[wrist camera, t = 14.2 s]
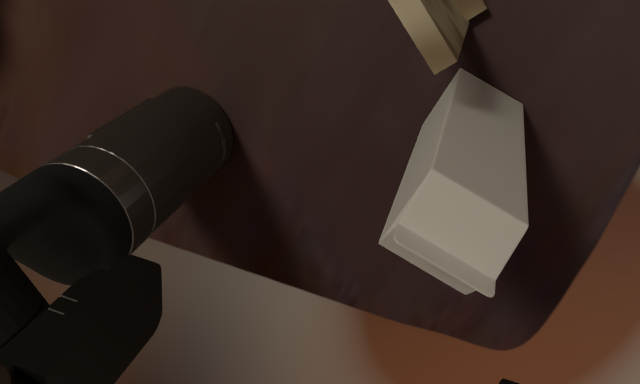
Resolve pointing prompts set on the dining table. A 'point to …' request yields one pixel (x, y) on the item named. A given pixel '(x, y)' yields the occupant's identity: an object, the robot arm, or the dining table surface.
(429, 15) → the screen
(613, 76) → the dining table surface
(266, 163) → the dining table surface
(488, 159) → the milk
